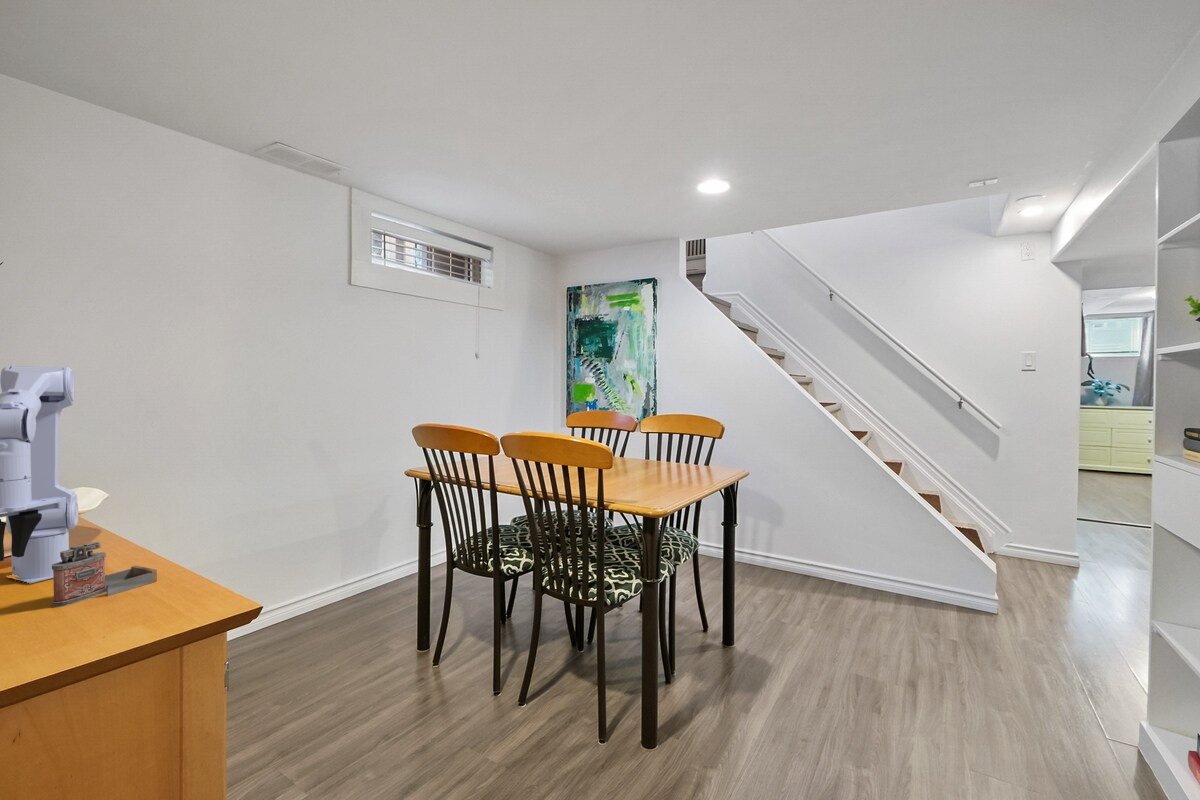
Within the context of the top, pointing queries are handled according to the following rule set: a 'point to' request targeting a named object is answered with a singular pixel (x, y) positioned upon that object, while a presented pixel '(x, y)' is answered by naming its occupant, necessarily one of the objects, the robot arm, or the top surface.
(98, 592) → the lighter
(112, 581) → the keeper
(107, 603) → the top surface
